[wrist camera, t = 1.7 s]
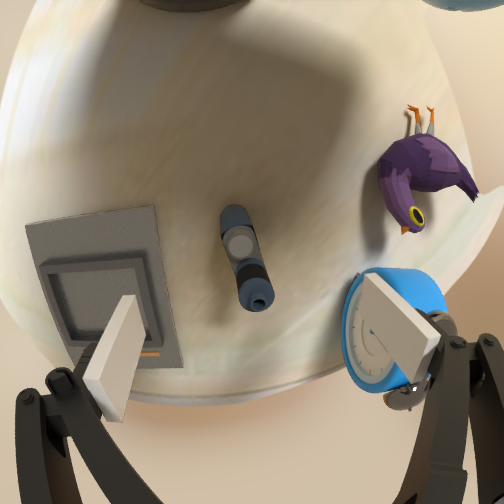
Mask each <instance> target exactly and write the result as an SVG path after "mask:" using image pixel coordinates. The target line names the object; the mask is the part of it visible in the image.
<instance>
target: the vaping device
mask: <svg viewBox="0 0 504 504" xmlns="http://www.w3.org/2000/svg"><path fill="white" fill-rule="evenodd" d="M220 225H221V238H222V241H223V244H224V247H225V250H226V252H227V255H228V258H229V260H230V263H231V266H232V268H233V271H234V273H235V276H236V281H237V288H238V289H239V291H238V295H239V301H240V304H241V305H242V307H243V308H245V309H246V310H248V311H251V312H260V311H263V310H265V309H267V308H268V307H270V305H271V304H272V303H273V301H274V297H275V295H274V290H273V287H272V285H271V284H270V283H271V282H270V279H269V277H268V274H267V271H266V268H265V265H264V262H263V259H262V255H261V252H260V248H259V245H258V242H257V238H256V235H255V232H254V228H253V226H252V223H251V221H250V219H249V216H248V214H247V211H246V210H245V208H243V207H242V206H240V205H230V206H228V207H226V208H225V209H224V210H223V211H222V213H221V216H220ZM267 278H268V279H267Z"/></svg>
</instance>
